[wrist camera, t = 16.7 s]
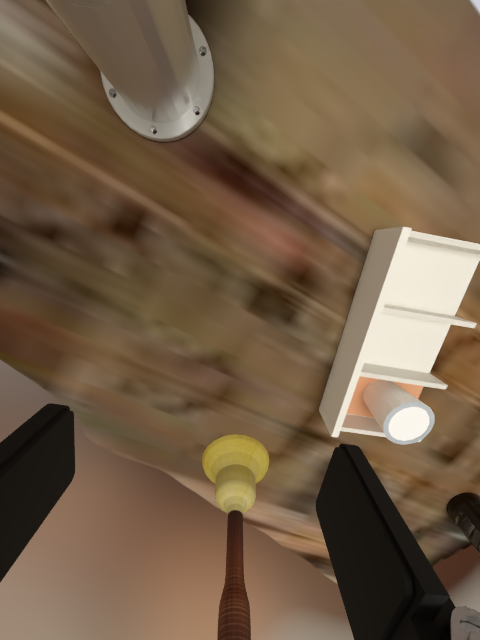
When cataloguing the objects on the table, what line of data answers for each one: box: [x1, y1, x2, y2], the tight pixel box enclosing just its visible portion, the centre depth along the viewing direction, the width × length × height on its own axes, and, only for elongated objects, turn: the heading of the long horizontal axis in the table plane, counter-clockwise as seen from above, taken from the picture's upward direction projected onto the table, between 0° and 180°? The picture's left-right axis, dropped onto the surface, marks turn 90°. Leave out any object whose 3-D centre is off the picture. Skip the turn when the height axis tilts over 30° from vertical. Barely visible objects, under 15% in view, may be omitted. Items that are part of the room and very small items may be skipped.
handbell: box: [202, 435, 269, 640], centre depth 33 cm, size 12×12×25 cm
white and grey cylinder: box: [363, 379, 434, 445], centre depth 36 cm, size 7×7×7 cm
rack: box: [319, 227, 480, 442], centre depth 35 cm, size 29×15×6 cm, turn 170°
